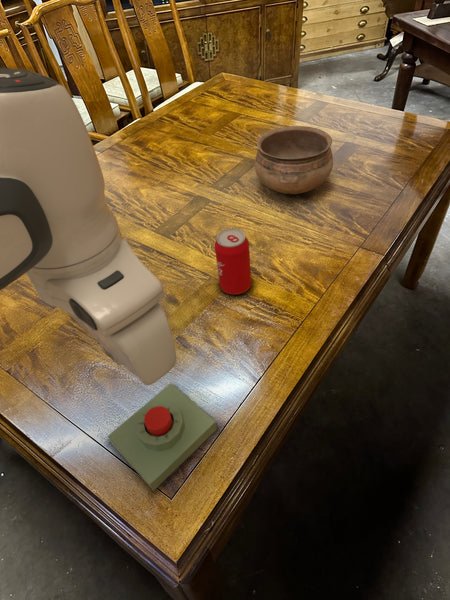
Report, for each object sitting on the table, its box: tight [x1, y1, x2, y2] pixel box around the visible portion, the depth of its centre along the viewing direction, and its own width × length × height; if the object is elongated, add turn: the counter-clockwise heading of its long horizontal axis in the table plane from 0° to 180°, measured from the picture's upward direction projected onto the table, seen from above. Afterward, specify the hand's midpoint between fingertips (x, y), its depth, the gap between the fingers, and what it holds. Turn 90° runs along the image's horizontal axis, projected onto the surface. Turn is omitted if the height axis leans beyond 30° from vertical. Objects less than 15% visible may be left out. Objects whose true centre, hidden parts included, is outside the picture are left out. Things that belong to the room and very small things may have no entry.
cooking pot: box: [254, 125, 334, 196], centre depth 103 cm, size 25×19×12 cm
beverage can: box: [214, 228, 252, 295], centre depth 78 cm, size 6×6×12 cm
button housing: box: [107, 382, 218, 492], centre depth 60 cm, size 12×10×4 cm
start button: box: [144, 406, 172, 436], centre depth 58 cm, size 4×4×2 cm
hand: (117, 355), depth 48 cm, fingers closed
